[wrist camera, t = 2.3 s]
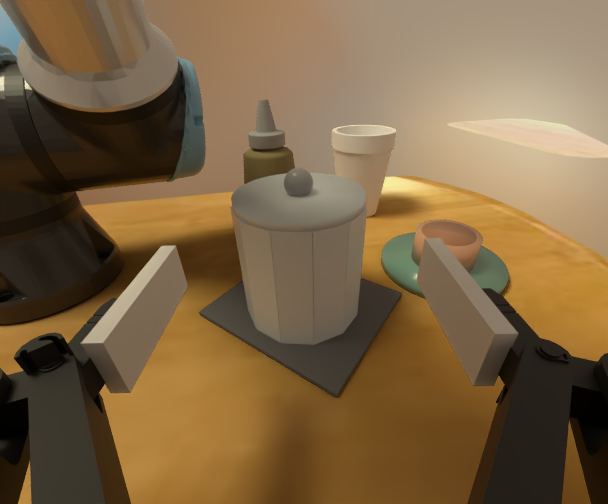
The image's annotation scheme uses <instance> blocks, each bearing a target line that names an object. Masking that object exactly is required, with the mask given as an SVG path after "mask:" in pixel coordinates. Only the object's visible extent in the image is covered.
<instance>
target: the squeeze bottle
mask: <svg viewBox="0 0 608 504" xmlns="http://www.w3.org/2000/svg"><path fill="white" fill-rule="evenodd" d="M248 139H249V146H250V147H251V149H249V150H247V151H246V152H245V153H244V183H245V184H246V183H248V182H251V181H253V180H256V179H259V178H263V177H267V176H272V175H278V174H286V173H288V172H289V171H290V170H292V169H294V168H295V166H294V159H293V153H292V151H291V150H289V149H288V148H287V147H283V146H284V145H285V134H284V131H282V130H276V128H275V124H274V120H273V116H272V113H271V110H270V106H269V102H268V100H258V110H257V121H256V131H252V132H249V133H248Z"/></svg>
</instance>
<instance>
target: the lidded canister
mask: <svg viewBox="0 0 608 504" xmlns="http://www.w3.org/2000/svg"><path fill="white" fill-rule="evenodd" d="M231 199H232V207H231V213H232V219H233V225H234V231H235V237H236V242H237V248H238V254H239V260H240V266H241V272H242V277H243V283H244V289H245V295H246V301H247V307H248V311H249V313H250V315H251V318H252V320H253V322H254V325H255V327H256V329H257V330H259V331H260V332H262V333H264V334H266V335H268V336H269V337H271V338H273V339H275V340H276V341H278V342H280V343H288V344H308V345H315V344H317V343H320V342H323V341H325V340H328V339H330V338H333V337H335V336H338V335H340V334H343V333H344V331H345V330H346V329H347V327H348V326H349V325H350V323H351V322H352V321H353V319H354V318H355V317H356V316H357V312H358V301H359V291H360V280H361V269H362V258H363V247H364V236H365V226H366V215H367V207H366V191H365V189H364V188H363V187H362V186H361V185H360V184H358V183H356V182H355V181H352V180H350V179H347V178H344V177H340V176H336V175H330V174H323V173H309V172H308V171H307V170H305V169H302V168H294V169H292V170H290V171H289V172H288V173H286V174H278V175H272V176H267V177H263V178H259V179H256V180H253V181H251V182H248V183H246V184H244V185H243V186H241V187H240V188H238V189H237V190H236V191H235V192H234V193H233V195H232V198H231Z"/></svg>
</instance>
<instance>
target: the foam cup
mask: <svg viewBox="0 0 608 504" xmlns="http://www.w3.org/2000/svg"><path fill="white" fill-rule="evenodd" d="M395 135H396V129H394V128H391V127H386V126H379V125H350V126H342V127H338V128H335V129H333V130H332V147H333V151H334V161H335V171H336V176H340V177H344V178H347V179H350V180H352V181H355V182H356V183H358V184H360V185H361V186H362V187H363V188H364V189H365V191H366V207H367V215H366V217H370V216H372V215H374V214H376V210H377V207H378V203H379V199H380V195H381V191H382V187H383V183H384V179H385V175H386V171H387V167H388V163H389V159H390V154H391V151H392V149H393V148H394V142H395Z"/></svg>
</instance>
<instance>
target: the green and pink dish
mask: <svg viewBox="0 0 608 504" xmlns="http://www.w3.org/2000/svg"><path fill="white" fill-rule="evenodd" d="M425 238H440V239H441V240H442V241H443V243H444V244H445V245H446V246H447V248H448V249H449V250H450V251H451V252H452V254H453V255H454V256H455V257H456V258H457V260H458V261H459V262H460V263H461V264H462V266H463V267H464V268H465V269H466V271H467V272H468V273H469V274H470V275H471V277H472V278H473V279H474V280H475V281H476V283H477V284H478V285H479V286H480V288H491V289H493V290H494V291H496V292H497V293H499V294H501V293H502V292H503V290H504V289H505V286H506V284H507V282H508V279H509V272H508V269H507V267H506V265H505V264H504V262H503V261H502V260H501V259H500V258H499V257H498V256H497V255H496V254H495V253H493V252H492V251H490V250H489V249H487V248H485V247H484V246H482V245H481V244H482V241H483V237H482V235H481V234H480V233H479V232H478V231H477V230H475V229H474V228H472V227H470V226H468V225H465V224H462V223H459V222H455V221H449V220H429V221H425V222H422V223H420V224H419V225H418V226H417V228H416V232H414V233H408V234H403V235H400V236H397V237H395V238H393V239H391V240H390V241H389V242H387V243H386V245H385V246H384V248H383V251H382V259H381V262H382V267H383V269H384V271H385V273H386V274H387V275H388V276H389V278H391V279H392V280H393V281H394V282H395V283H396V284H398V285H399V286H400V287H402V288H404V289H405V290H407V291H409V292H411V293H413V294H415V295H418V296H420V297H423V298H425V296H424V294H423V292H422V291H421V289H420V287H419V285H418V283H417V281H416V280H417V275H418V270H419V265H420V260H421V255H422V250H423V245H424V240H425Z"/></svg>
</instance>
